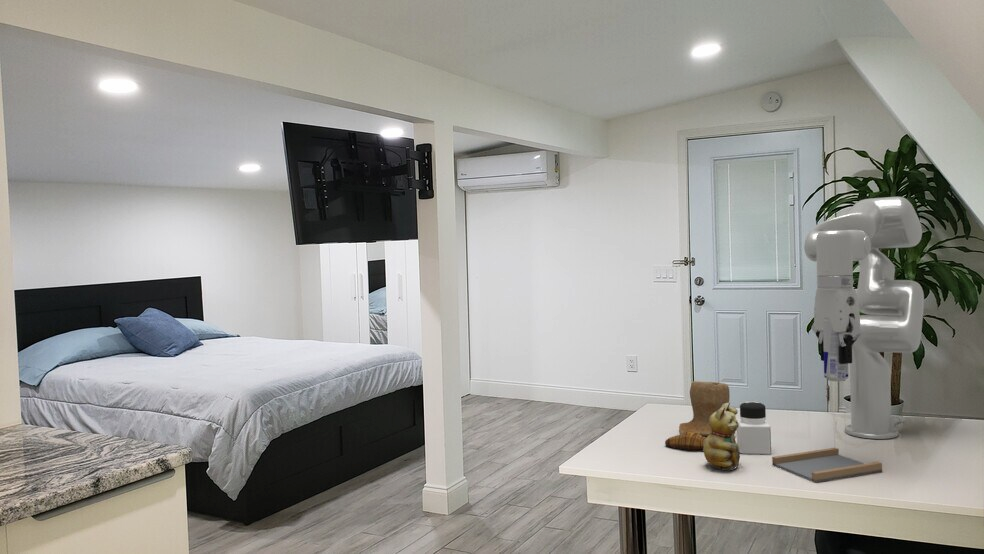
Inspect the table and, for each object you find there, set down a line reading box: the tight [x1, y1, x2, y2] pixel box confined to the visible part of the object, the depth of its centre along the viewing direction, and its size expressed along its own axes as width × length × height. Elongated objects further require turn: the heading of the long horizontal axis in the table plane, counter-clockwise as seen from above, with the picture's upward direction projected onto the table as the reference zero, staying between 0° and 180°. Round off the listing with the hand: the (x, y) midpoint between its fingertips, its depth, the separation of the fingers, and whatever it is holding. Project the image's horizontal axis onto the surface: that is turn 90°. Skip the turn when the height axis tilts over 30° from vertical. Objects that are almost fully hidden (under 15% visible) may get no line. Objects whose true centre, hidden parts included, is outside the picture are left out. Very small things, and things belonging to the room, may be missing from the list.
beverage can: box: [823, 317, 849, 382], centre depth 167 cm, size 5×5×15 cm
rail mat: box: [771, 447, 883, 484], centre depth 164 cm, size 18×14×2 cm
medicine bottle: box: [736, 401, 772, 455], centre depth 181 cm, size 7×7×12 cm
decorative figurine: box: [702, 402, 741, 471], centre depth 168 cm, size 10×8×15 cm
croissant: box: [664, 431, 707, 452], centre depth 185 cm, size 14×7×5 cm, turn 64°
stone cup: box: [678, 380, 736, 438], centre depth 197 cm, size 15×12×15 cm
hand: (836, 361), depth 167 cm, fingers closed on beverage can, 5 cm apart
